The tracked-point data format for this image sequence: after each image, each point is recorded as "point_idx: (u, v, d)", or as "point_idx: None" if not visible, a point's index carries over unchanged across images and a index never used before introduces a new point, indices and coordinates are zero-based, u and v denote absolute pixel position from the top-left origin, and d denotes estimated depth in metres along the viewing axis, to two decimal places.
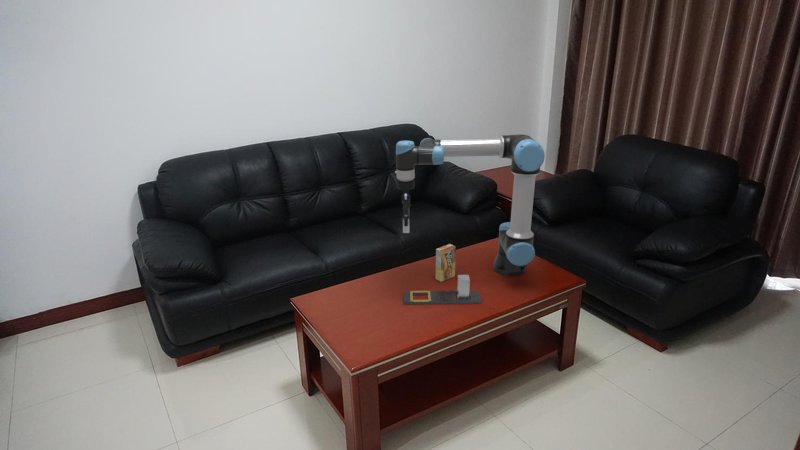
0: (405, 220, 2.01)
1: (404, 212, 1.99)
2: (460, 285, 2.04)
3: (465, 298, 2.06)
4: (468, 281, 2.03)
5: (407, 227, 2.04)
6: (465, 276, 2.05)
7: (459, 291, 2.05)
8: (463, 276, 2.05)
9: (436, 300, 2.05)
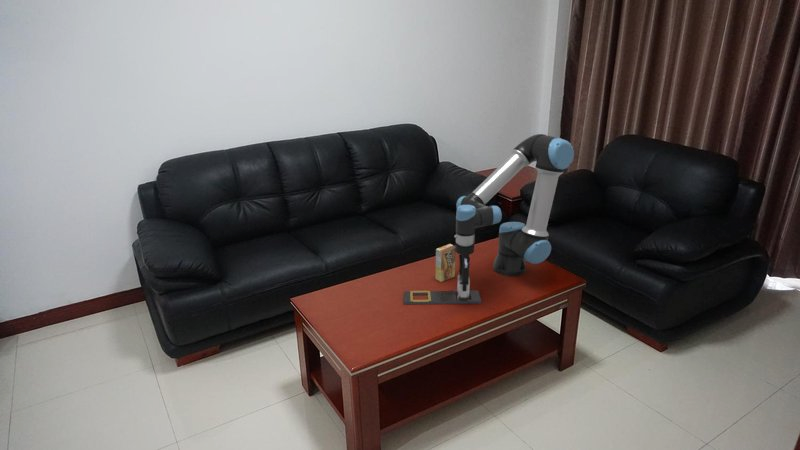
0: (464, 285, 2.01)
1: (464, 279, 1.98)
2: (460, 285, 2.04)
3: (465, 298, 2.06)
4: None
5: (465, 292, 2.04)
6: None
7: (459, 291, 2.05)
8: None
9: (436, 300, 2.05)
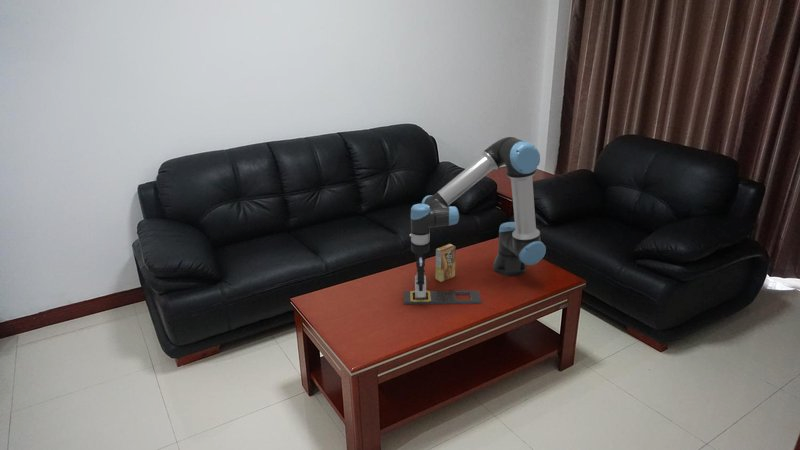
0: (420, 285, 2.00)
1: (419, 279, 1.97)
2: None
3: (422, 299, 2.06)
4: (424, 281, 2.03)
5: (422, 292, 2.02)
6: None
7: (416, 291, 2.05)
8: None
9: (436, 300, 2.05)
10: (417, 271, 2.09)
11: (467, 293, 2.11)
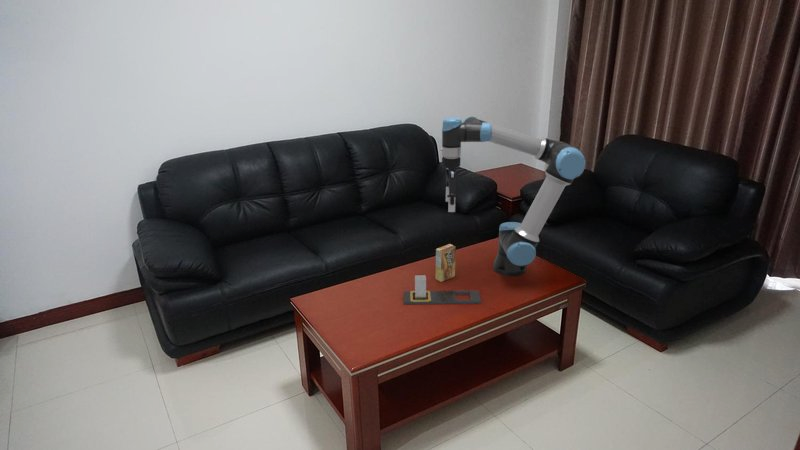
0: (451, 198, 1.97)
1: (451, 190, 1.95)
2: (417, 286, 2.04)
3: (422, 299, 2.06)
4: (424, 281, 2.03)
5: (453, 206, 2.00)
6: (422, 276, 2.06)
7: (416, 291, 2.05)
8: (420, 276, 2.06)
9: (436, 300, 2.05)
10: (446, 185, 2.11)
11: (467, 293, 2.11)
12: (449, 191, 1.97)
